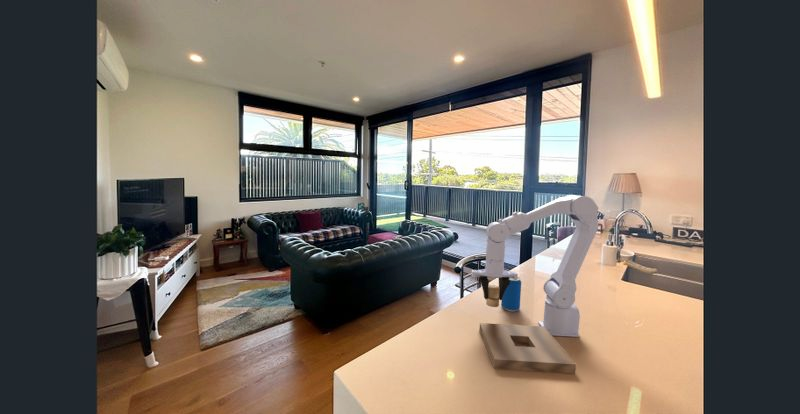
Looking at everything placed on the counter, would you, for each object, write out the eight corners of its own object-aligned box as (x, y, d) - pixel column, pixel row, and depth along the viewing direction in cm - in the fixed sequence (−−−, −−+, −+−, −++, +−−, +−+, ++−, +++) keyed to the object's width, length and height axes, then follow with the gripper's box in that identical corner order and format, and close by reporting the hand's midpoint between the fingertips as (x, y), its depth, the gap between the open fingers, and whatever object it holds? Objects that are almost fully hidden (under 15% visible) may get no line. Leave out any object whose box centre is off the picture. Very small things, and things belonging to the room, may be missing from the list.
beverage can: (521, 313, 101) (523, 281, 100) (502, 311, 103) (504, 279, 101) (517, 305, 108) (519, 275, 107) (499, 303, 109) (501, 273, 108)
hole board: (543, 333, 88) (544, 326, 88) (575, 373, 70) (576, 364, 70) (479, 330, 89) (479, 322, 89) (494, 368, 72) (494, 359, 71)
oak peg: (497, 301, 95) (498, 285, 95) (500, 307, 91) (501, 289, 91) (484, 301, 96) (485, 284, 95) (487, 306, 91) (488, 289, 91)
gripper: (513, 256, 95) (511, 294, 97) (470, 254, 96) (468, 292, 98) (520, 262, 88) (518, 303, 90) (474, 260, 89) (472, 301, 91)
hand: (492, 298), depth 93 cm, fingers closed on oak peg, 4 cm apart
